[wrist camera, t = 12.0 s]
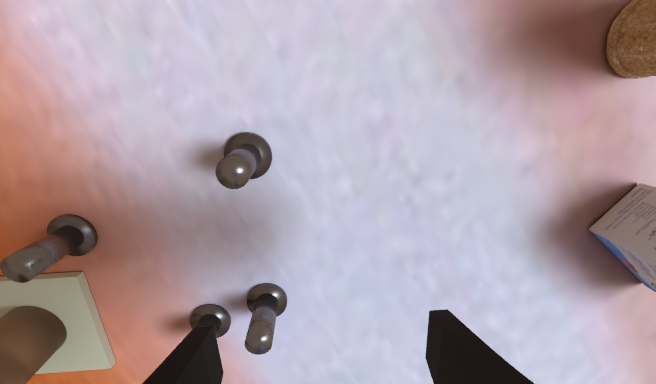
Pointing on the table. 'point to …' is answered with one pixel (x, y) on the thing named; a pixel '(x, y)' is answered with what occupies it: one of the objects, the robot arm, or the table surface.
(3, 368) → the walnut peg
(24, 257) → the slalom posts
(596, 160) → the table surface
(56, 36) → the table surface
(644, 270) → the medicine box
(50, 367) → the pad
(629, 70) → the sprinkles bottle
